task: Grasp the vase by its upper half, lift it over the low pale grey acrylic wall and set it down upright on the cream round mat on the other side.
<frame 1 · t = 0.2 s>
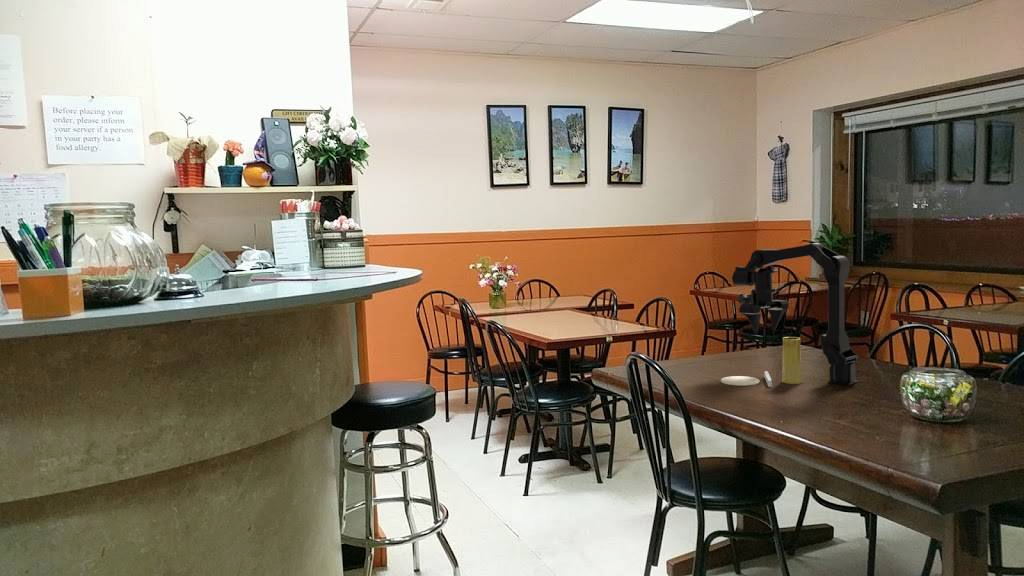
hand: (764, 331, 237), 14 cm above the table, fingers open, 9 cm apart
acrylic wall: (768, 381, 223), on the table
vase: (792, 382, 221), on the table
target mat: (740, 381, 226), on the table
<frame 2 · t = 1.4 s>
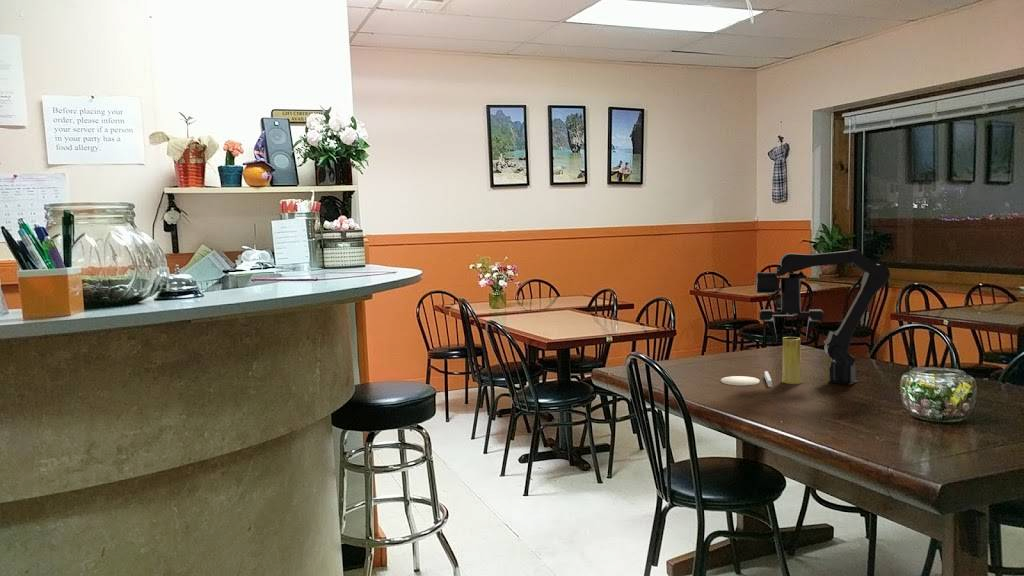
hand: (791, 341, 221), 13 cm above the table, fingers open, 9 cm apart
nothing on the table moved.
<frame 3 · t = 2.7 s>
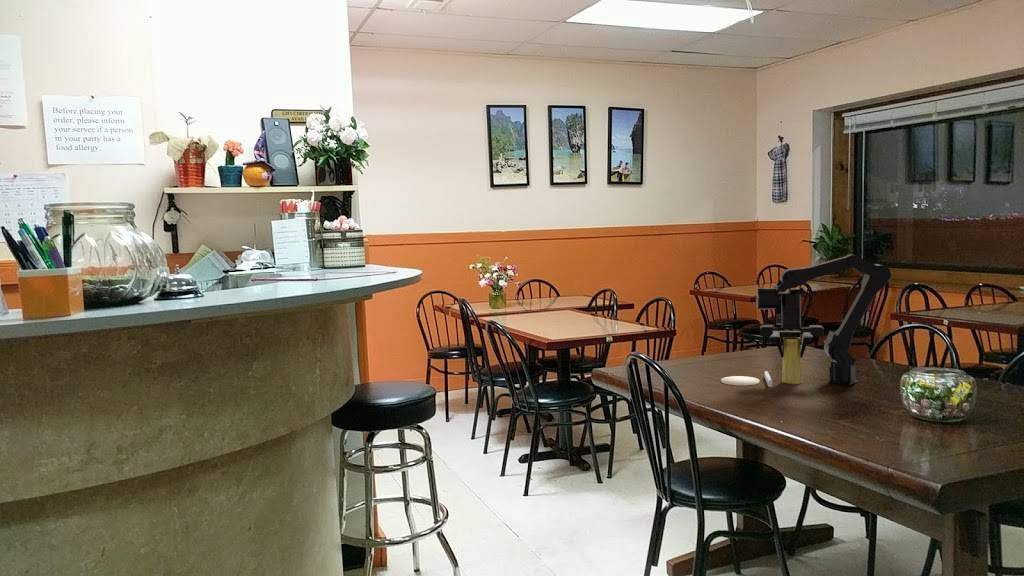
hand: (791, 357, 221), 8 cm above the table, fingers closed on vase, 5 cm apart
vase: (792, 382, 221), on the table, touching gripper
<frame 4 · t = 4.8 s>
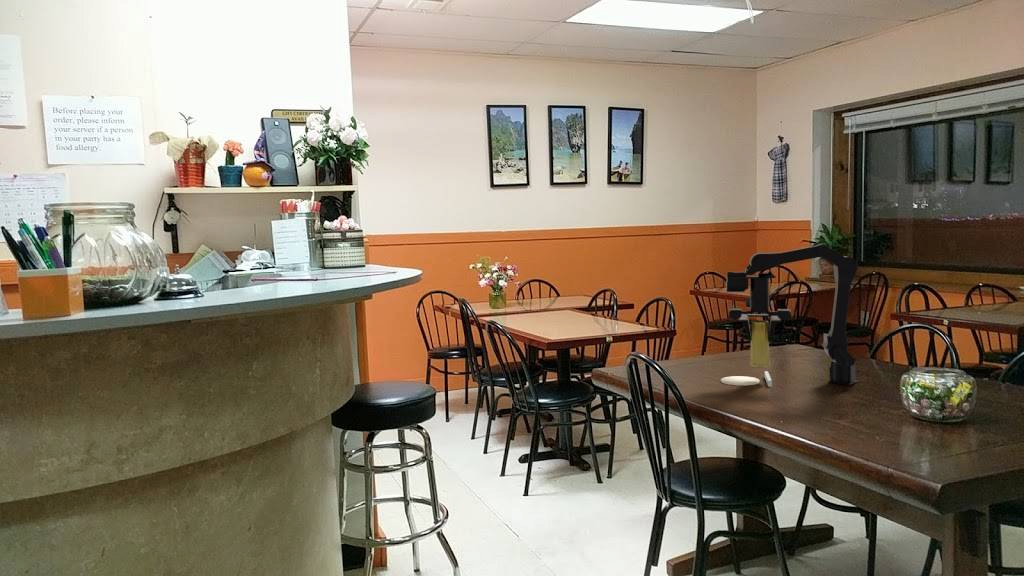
hand: (759, 340, 223), 13 cm above the table, fingers closed on vase, 5 cm apart
vase: (759, 365, 224), point 5 cm above the table, touching gripper
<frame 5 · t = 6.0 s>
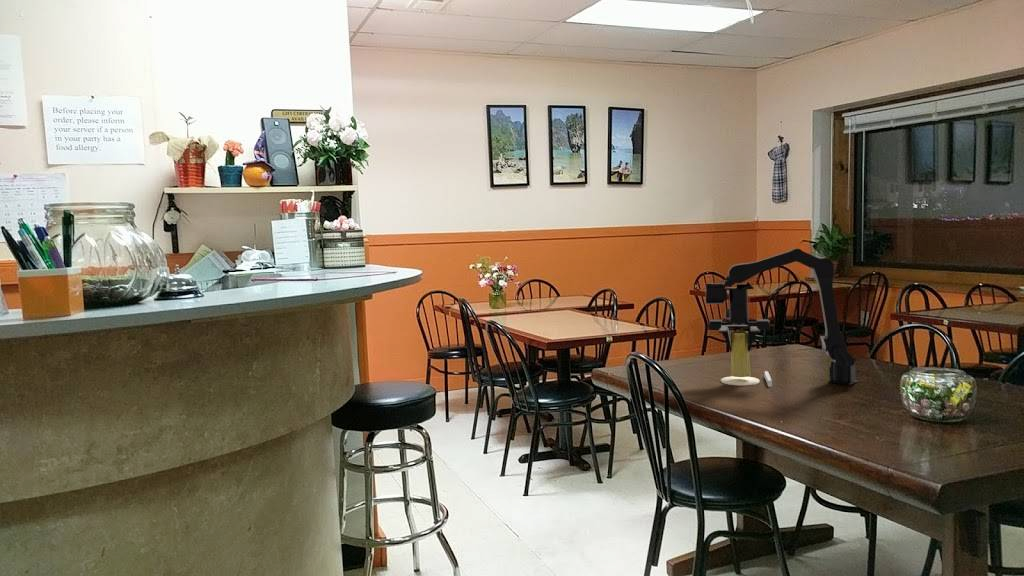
hand: (739, 351, 225), 10 cm above the table, fingers closed on vase, 5 cm apart
vase: (740, 376, 225), point 2 cm above the table, touching gripper
when the fingers open (9 cm above the table, at t = 6.9 s): vase stays where it is, resting on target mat.
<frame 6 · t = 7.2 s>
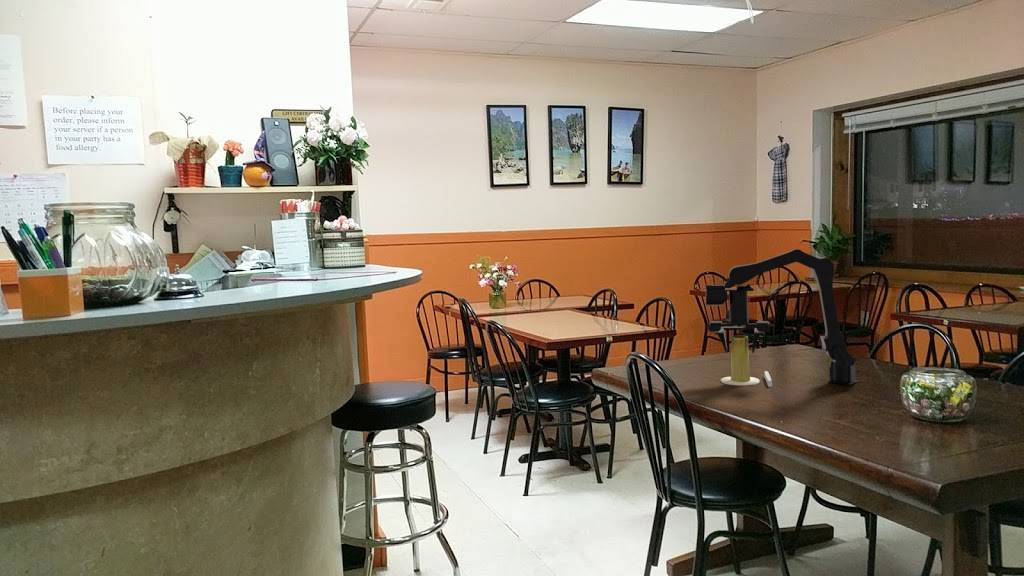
hand: (739, 352, 225), 9 cm above the table, fingers open, 8 cm apart
vase: (740, 380, 226), resting on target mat
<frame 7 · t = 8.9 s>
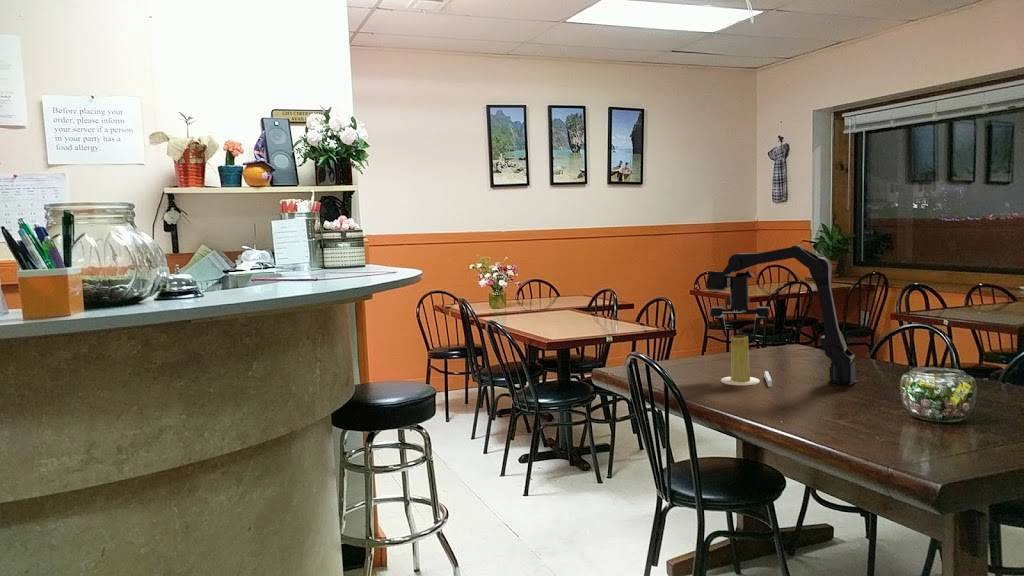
hand: (739, 336, 234), 13 cm above the table, fingers open, 9 cm apart
nothing on the table moved.
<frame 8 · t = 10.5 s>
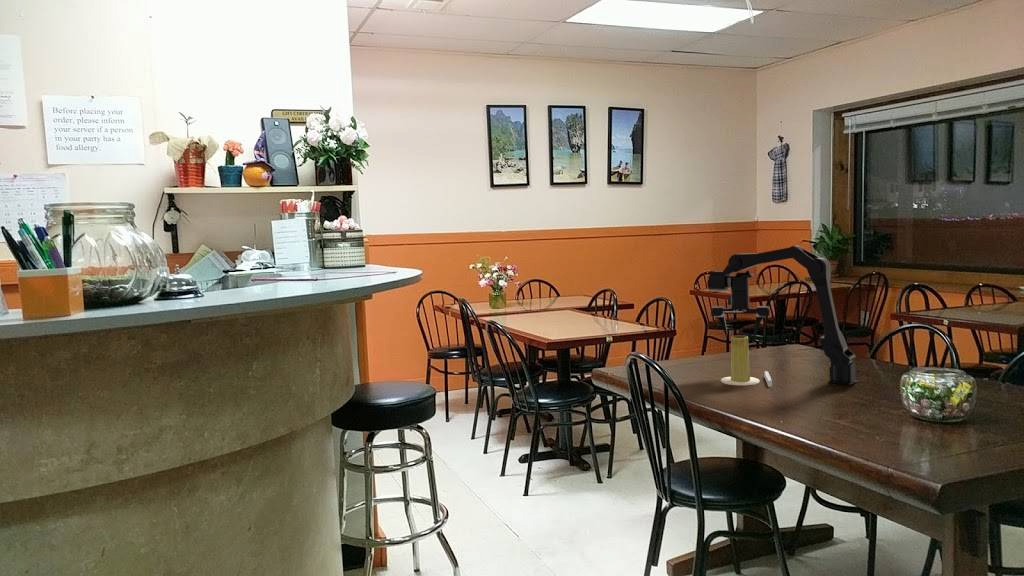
hand: (740, 336, 236), 13 cm above the table, fingers open, 9 cm apart
nothing on the table moved.
at the end: vase 0.1 cm off-centre on the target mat, point 0.3 cm above the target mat's base; vase tilted 0°; the gripper is holding nothing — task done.
